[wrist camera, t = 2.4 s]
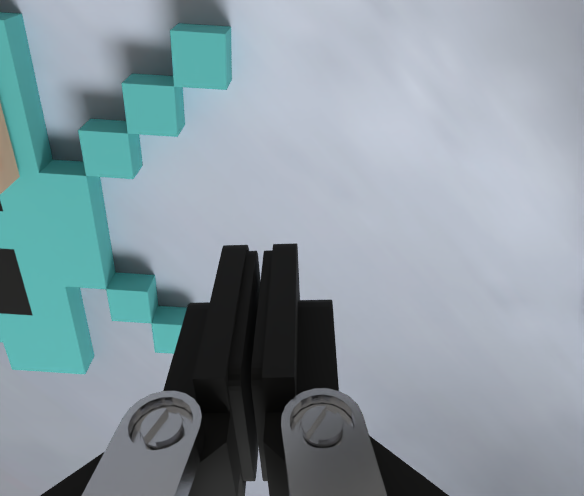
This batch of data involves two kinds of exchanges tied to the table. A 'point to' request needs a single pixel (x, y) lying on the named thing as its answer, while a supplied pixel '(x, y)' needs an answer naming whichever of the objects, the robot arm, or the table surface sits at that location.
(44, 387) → the table surface
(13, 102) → the alien figure
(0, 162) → the terracotta tile
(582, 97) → the table surface
